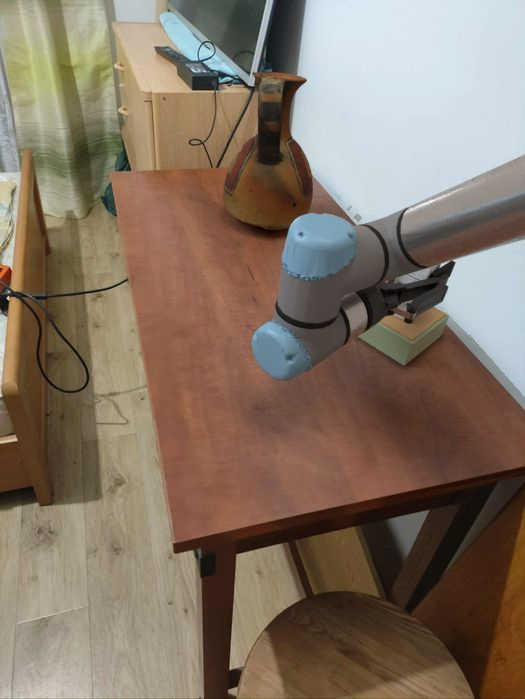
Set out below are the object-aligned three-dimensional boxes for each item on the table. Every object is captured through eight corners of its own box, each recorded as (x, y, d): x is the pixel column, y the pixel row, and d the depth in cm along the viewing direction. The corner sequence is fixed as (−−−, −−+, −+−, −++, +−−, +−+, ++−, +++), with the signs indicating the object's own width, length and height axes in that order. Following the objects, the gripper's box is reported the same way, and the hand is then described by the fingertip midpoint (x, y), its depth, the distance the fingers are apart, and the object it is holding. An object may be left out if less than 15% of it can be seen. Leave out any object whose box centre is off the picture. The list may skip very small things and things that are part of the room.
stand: (440, 336, 89) (450, 313, 86) (404, 366, 82) (413, 342, 79) (384, 304, 95) (391, 282, 92) (345, 329, 88) (351, 305, 85)
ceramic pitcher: (308, 205, 124) (332, 69, 105) (306, 246, 109) (334, 95, 89) (228, 194, 124) (237, 56, 105) (215, 233, 109) (223, 80, 89)
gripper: (291, 300, 77) (378, 254, 90) (398, 368, 67) (476, 305, 81) (299, 256, 72) (389, 215, 85) (415, 323, 62) (495, 265, 76)
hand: (431, 259), depth 83 cm, fingers closed on syrup box, 6 cm apart
